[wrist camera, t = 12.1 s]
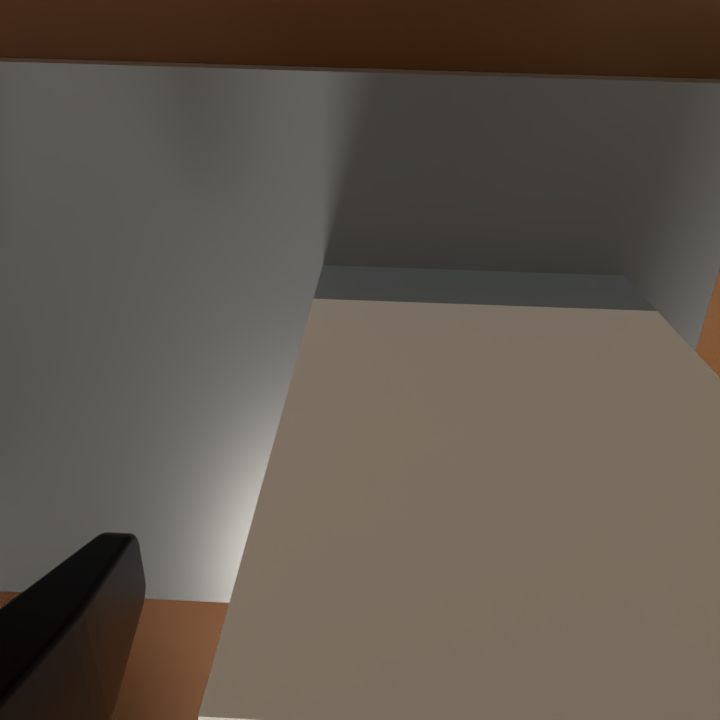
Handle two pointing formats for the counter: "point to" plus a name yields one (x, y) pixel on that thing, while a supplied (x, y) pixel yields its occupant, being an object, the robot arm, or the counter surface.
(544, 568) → the sleeve
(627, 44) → the counter surface
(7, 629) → the robot arm
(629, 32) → the counter surface
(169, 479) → the pin board
